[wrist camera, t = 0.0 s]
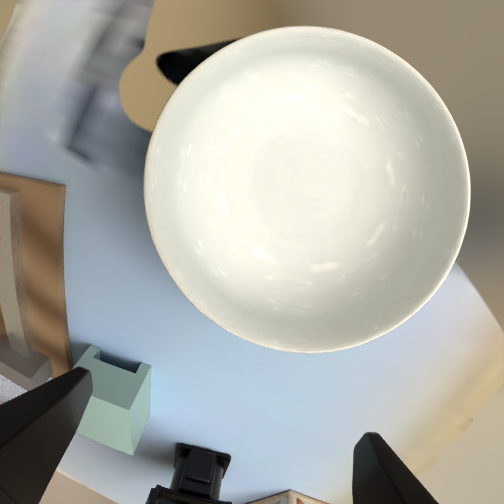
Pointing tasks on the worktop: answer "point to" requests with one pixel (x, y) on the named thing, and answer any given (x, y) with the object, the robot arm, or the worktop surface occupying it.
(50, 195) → the mounting board
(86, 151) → the worktop surface
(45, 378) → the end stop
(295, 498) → the decorative jar
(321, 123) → the cereal bowl
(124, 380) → the block
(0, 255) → the metal rail
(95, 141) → the worktop surface
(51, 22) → the worktop surface
